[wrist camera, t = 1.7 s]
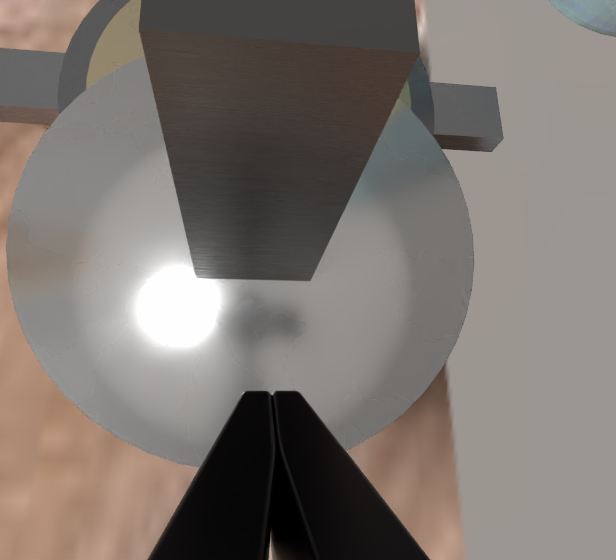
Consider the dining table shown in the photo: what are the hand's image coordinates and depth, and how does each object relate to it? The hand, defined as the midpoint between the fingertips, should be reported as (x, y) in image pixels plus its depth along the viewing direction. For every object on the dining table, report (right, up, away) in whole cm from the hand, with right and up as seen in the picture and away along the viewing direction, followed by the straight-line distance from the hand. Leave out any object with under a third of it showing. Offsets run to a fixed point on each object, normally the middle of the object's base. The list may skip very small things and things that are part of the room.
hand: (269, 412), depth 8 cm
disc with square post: (-1, +3, +9) cm, 10 cm away
